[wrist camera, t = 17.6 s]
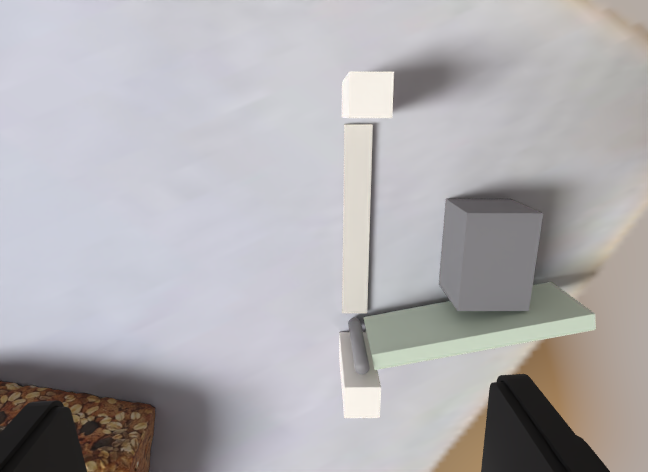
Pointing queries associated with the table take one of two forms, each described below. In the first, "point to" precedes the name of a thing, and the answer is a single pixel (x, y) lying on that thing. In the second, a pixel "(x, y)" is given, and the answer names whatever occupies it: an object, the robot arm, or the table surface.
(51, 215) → the table surface
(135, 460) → the bread
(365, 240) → the door frame
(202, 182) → the table surface
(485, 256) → the block
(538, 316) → the door
